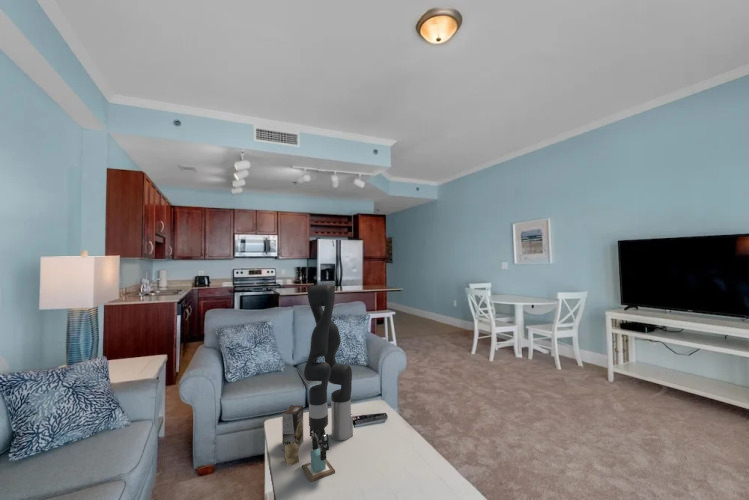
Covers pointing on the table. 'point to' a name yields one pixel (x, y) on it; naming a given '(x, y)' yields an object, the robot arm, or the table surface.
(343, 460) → the table surface
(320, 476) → the brown framed white board
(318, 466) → the teal block
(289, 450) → the ochre block
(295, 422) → the coffee box
